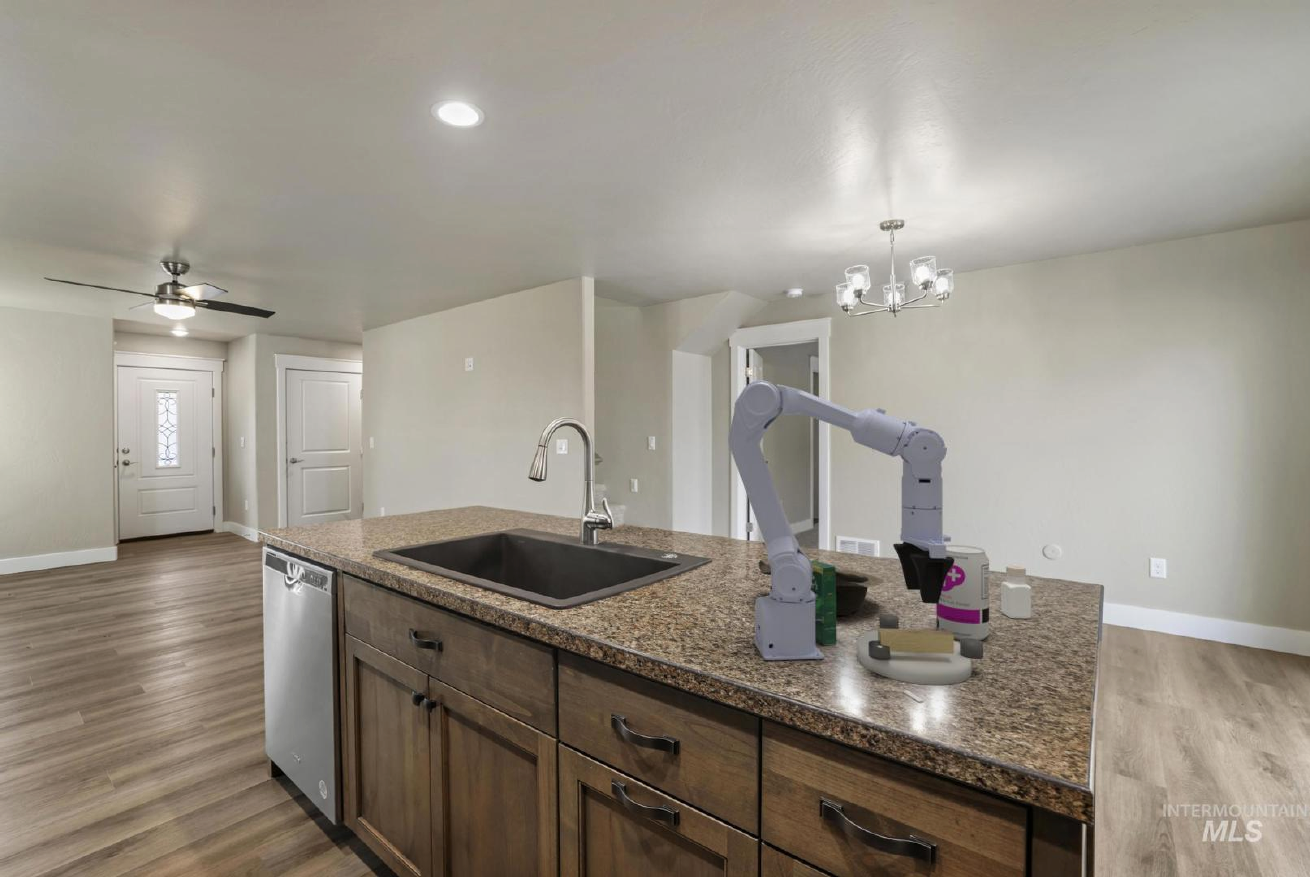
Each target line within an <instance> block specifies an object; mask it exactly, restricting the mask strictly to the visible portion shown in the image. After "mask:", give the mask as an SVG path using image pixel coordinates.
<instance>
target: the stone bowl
mask: <svg viewBox="0 0 1310 877" xmlns="http://www.w3.org/2000/svg"><path fill="white" fill-rule="evenodd" d="M758 567H759V568H758V569H759V570H760V573H761V574H764V575H768V576H771V566H770V564H768V563H765V562H764V561H763V560H762V559H760V560H759V561H758ZM835 570H836V616H845V617H847V616H850V615H852V614H853V613H857V611H859V609H861V608H860V607H861V606H862V604H863V603H864V601H865V599H866V596H867V593H868V589H869V588H872V587H875V586H879V585H880V584H884V583H885V582H884V579H883V578H881V577H877V576H875V575H873V574H867V573H864V572H860V571H857V570H852V569H841V568H838V567H835ZM771 589H773V588H772V586H771V585H770V590H771Z"/></svg>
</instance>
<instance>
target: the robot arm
mask: <svg viewBox="0 0 1310 877" xmlns="http://www.w3.org/2000/svg"><path fill="white" fill-rule="evenodd" d="M776 386H777V387H778V388H779V389H778V388H777V387H776ZM776 386H775V385H774V384H772V383H771V382H769V381H766V380H761V379H760V380H755V381H752V382H749V384H747V385H746V386H745V387H744V388H743V390H742V391H741V393H740V395H739V396H738V397H737V399H736V401H735V402H734V407H733V408H734V409H733V410H734V411H733V416H732V420H731V425H730V429H729V433H728V439H727V441H728V446H729V450H730V452H731V454H732V457H733V460H734V464H735V465H736V468H737V471H738V473H739V476H740V479H741V482H742V485H743V487H744V490H745V493H746V495H747V498H748V501H749V503H750V505H751V509H752V510H753V514H754V517H755V520H756V522H757V525H758V528H759V531H760V532H761V535H762V538H763V541H764V543H765V549H766V554H767V559H768V560H767V561H768V563H769V565H770V566H771V575H770V579H769V582H770V587H771V586H772V588H773V589H771V590H770V591H769V595H765V596H759V597H756V599H755V604H754V641H753V643H754V644H755V646H756V647H757V650H758V651H759V652H760V655H761V656H762V658H763V660H766V661H772V660H773V661H782V660H783V661H784V660H813V659H814V660H816V659H819V660H820V659H822V660H823V659H825V654H824V653H823V652H822V651H821V650H820V649H819V648H818V647H817V646H816V640H815V593H814V592H812V591H811V585H812V579H811V577H812V574H813V566H812V563H811V561H810V559H811V558H810V557H809V556H808V555H807V554H806V553H804V551H803V550H802V549H801V547H800V545H799V542H798V539H797V538H796V537H795V535H794V533H793V531H792V528H791V526H790V522H789V520H788V517H787V515H786V512H785V509H784V506H783V503H782V500H781V499H780V495H779V494H778V490H777V488H776V485H775V482H774V481H773V477H772V475H771V471H770V470H769V467H768V464H767V461H766V458H765V456H764V453H763V451H762V448H761V446H760V444H761V442H762V439H763V437H764V435H765V434H766V432H767V429H768V427H769V426H770V425H771V424H772V423H773V422H774V421H776V419H777V418H778V417H779V416H780V415H781V414H782V415H783V416H785V417H788V416H796V415H805V416H808V417H811V418H812V419H816V420H818V421H821V422H825V423H827V424H830V425H833V426H835V427H838V428H841V429H844V430H846V431H849V432H850V435H851V436H852V439H853V441H854V443H857V444H859V445H862V446H864V447H867V448H869V449H871V450H875V451H877V452H880V453H883V454H885V455H888V456H891V457H895V458H896V457H898V456H900V458H901V459H902V476H901V528H900V536H899V537H900V541H902V543H893V544H892V545H893V549H894V550H895V552H896V554H897V556H898V559H899V562H900V565H901V568H902V575H903V579H904V583H905V585H906V589H907V590H909V591H911V590H912V591H919V592H920V593H919V594H920V598H921V602H922V603H923V604H938V603H939V600H940V596H941V592H942V588H943V584H944V581H945V578H946V576H947V574H948V572H949V570H950V568H951V567H952V566H953V564H954V558H952V557H946V545H947V544H945V543H946V542H947V543H949V542H951V541H952V537H951V536H949V535H948V534H947V535H946V534H943V527H944V526H943V521H944V520H943V507H944V506H943V503H944V502H943V501H944V500H943V477H942V471H943V466H942V461H943V460H944V459H945V457H946V455H947V451H948V448H947V447H946V445H945V441H944V439H943V437H941V436H940V434H939V433H938V432H936V431H934V430H932V429H929V428H928V429H927V428H922V427H917V425H918V424H917V421H915V420H908V421H905V420H902V419H900V418H897V417H894V416H891V415H888V414H886V412H887V411H886V409H884V408H882V407H877V408H876V410H875V409H873V408H866V409H864V410H861V411H859V412H855V411H854V410H850V409H849V408H846V407H844V406H842V405H839V404H838V403H837V404H836V403H834V402H832V401H829V400H827V399H823V398H821V397H819V396H817V395H814V394H812V393H809V392H807V391H804V390H802V389H799V388H795V387H791V386H790V387H789V386H787V385H781V384H776Z"/></svg>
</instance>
